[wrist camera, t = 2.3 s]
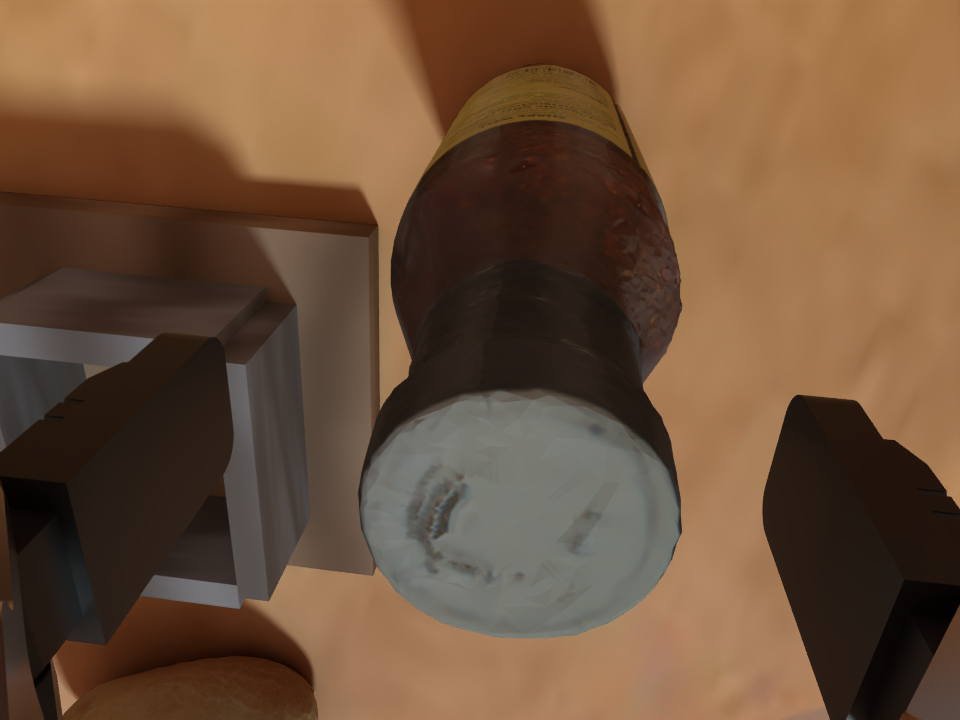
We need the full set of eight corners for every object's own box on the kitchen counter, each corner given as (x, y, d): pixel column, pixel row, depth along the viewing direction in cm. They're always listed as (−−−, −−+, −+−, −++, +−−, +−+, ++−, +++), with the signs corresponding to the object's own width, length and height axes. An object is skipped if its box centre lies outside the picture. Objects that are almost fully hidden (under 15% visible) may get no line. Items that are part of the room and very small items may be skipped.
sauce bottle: (418, 143, 27) (117, 460, 9) (555, 15, 25) (497, 115, 7) (536, 277, 29) (471, 757, 11) (674, 170, 26) (871, 564, 9)
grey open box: (378, 225, 28) (327, 288, 23) (380, 553, 36) (342, 664, 30) (-23, 189, 30) (-168, 241, 24) (59, 514, 37) (-37, 613, 31)
